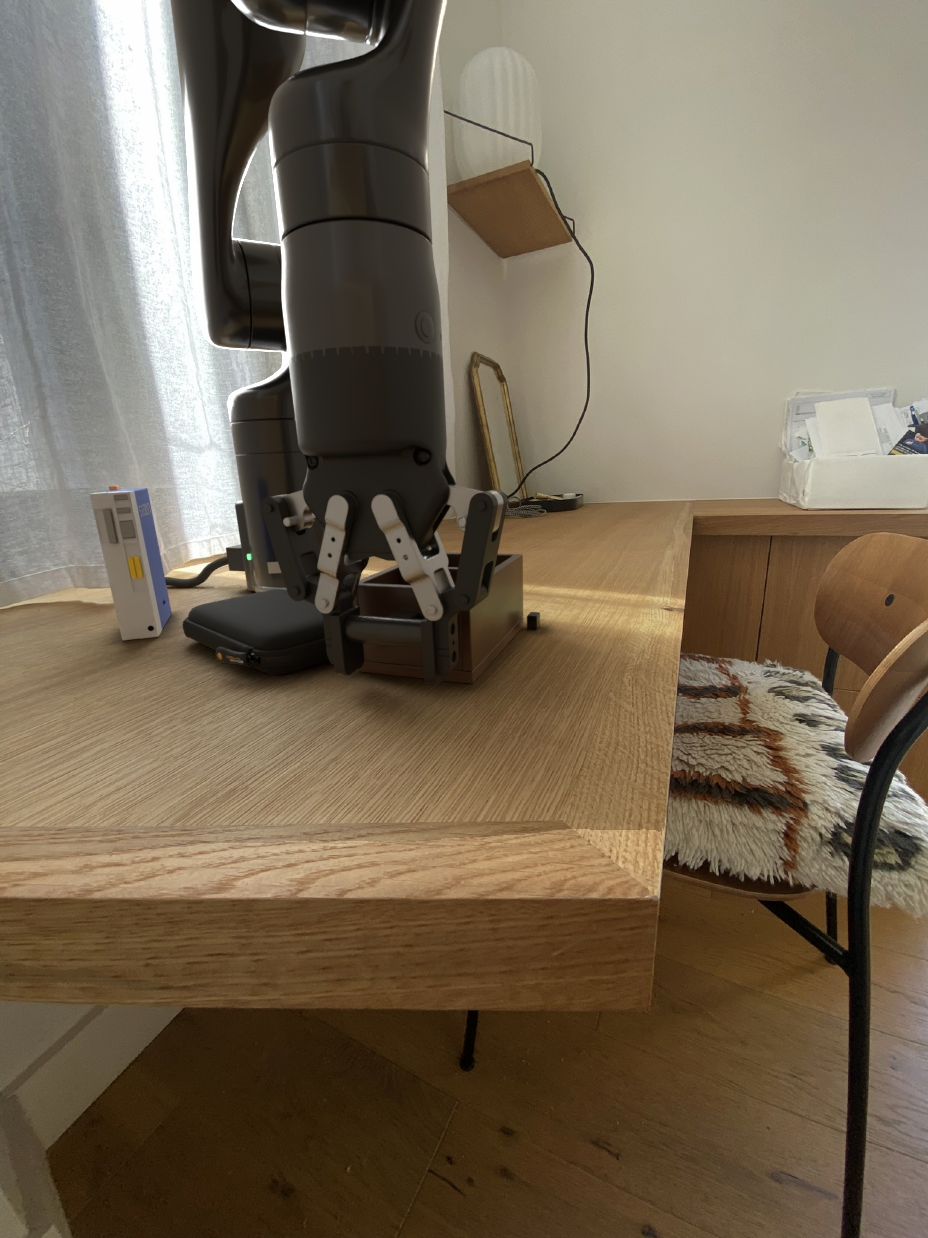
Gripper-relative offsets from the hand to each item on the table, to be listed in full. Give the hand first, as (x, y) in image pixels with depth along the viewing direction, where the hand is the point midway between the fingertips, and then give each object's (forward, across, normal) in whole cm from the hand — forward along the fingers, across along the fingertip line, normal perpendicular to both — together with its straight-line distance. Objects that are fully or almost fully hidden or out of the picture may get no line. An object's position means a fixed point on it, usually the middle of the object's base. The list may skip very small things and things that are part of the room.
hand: (392, 673), depth 32 cm
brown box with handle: (+1, 0, -7) cm, 7 cm away
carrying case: (+2, +13, -5) cm, 14 cm away
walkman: (+2, +28, -7) cm, 29 cm away
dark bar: (+1, 0, -14) cm, 14 cm away
